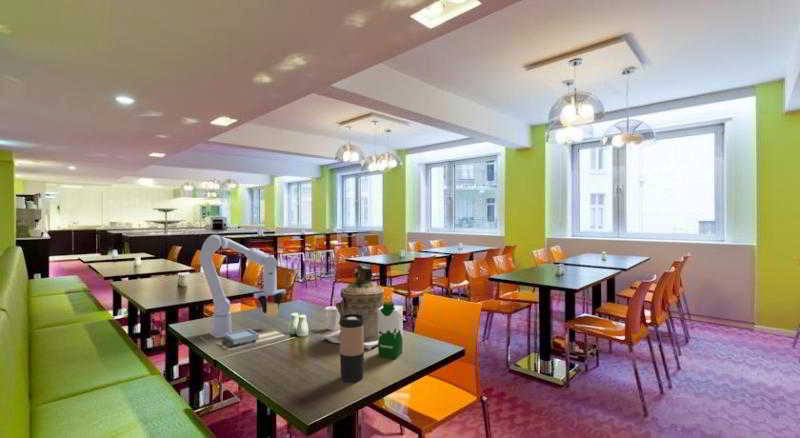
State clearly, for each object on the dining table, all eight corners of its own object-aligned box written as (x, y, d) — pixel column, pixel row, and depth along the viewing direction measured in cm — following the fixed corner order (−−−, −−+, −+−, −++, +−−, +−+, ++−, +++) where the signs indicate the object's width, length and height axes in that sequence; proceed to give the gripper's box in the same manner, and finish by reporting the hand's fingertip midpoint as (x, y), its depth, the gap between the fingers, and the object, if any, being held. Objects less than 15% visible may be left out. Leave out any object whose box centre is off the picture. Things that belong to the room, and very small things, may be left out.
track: (216, 343, 161) (216, 337, 161) (274, 330, 178) (274, 325, 178) (227, 351, 152) (227, 345, 152) (287, 337, 169) (287, 332, 169)
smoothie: (336, 331, 177) (336, 300, 177) (323, 330, 179) (322, 299, 178) (341, 327, 184) (341, 297, 183) (328, 326, 185) (328, 296, 185)
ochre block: (262, 314, 181) (262, 303, 181) (273, 312, 184) (273, 302, 184) (267, 316, 177) (267, 305, 177) (278, 314, 181) (277, 303, 181)
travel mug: (340, 373, 131) (340, 314, 131) (363, 372, 132) (363, 313, 131) (339, 383, 124) (339, 320, 123) (363, 382, 124) (363, 319, 124)
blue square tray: (225, 341, 162) (224, 333, 162) (249, 336, 169) (248, 328, 169) (233, 347, 155) (233, 339, 155) (258, 341, 162) (258, 333, 162)
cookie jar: (400, 334, 173) (400, 261, 173) (370, 351, 152) (369, 269, 151) (355, 326, 185) (354, 258, 185) (320, 341, 164) (319, 265, 163)
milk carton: (375, 357, 146) (375, 303, 145) (384, 349, 154) (384, 298, 154) (397, 360, 143) (397, 305, 142) (405, 351, 151) (405, 300, 151)
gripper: (258, 285, 173) (258, 315, 173) (288, 281, 182) (289, 310, 183) (251, 283, 178) (252, 312, 178) (281, 279, 188) (282, 307, 188)
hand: (270, 311), depth 181 cm, fingers closed on ochre block, 5 cm apart
